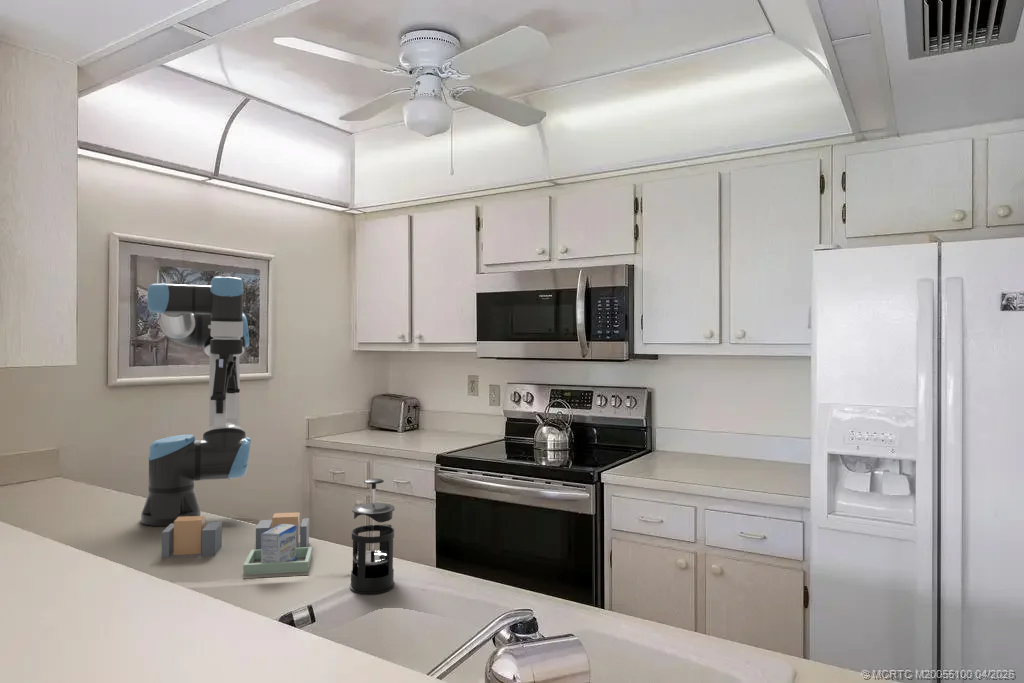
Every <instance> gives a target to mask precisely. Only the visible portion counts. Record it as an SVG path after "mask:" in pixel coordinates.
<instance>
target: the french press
mask: <svg viewBox="0 0 1024 683" xmlns="http://www.w3.org/2000/svg"><path fill="white" fill-rule="evenodd" d="M363 482H364V484H369V485H370V484H371V490H372V502H368V503H361V504H357V505H355V506H353V507H352V508H351V512H352V513H353V520H356V518H358V517H359V516H362V515H363V516H367V517H369V518H371V519H372V524H368V525H367V524H366V525H361V526H358V527H355V528H353V529H352V530H351V540H352V570H351V571H350V583H349V589H350V592H351V591H352V592H353V593H354V594H359V595H365V596H370V595H380V594H383V593H387V592H389V591H391V590H393V589H394V587H395V581H394V576H395V575H394V572H395V570H394V564H393V563H394V538H395V529H394V528H393V527H392V525H391V524H387V523H385V522H388V521H391V520H392V519H393V512H394V511H395V509H396V508H395V506H394V505H392V504H389V503H383V502H375V490H376V489H377V484H382V483H384V482H385V480H383V479H382V478H375V477H374V478H368V479H367V478H366V479H364V481H363ZM375 522H377V523H383V524H375ZM365 532H372V534H371V536H364V535H359V534H361V533H365ZM375 532H379V535H378V536H375ZM367 544H371V550H366V547H367ZM375 544H379V550H378V549H376V550H375V549H374V547H375Z"/></svg>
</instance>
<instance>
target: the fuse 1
mask: <svg viewBox="0 0 1024 683" xmlns="http://www.w3.org/2000/svg"><path fill="white" fill-rule="evenodd" d="M205 526H206V515H200V516H185V517H178V518H177V519H176V520H175V521H174V555H188V554H201V553H202V530H203V529H204V527H205Z"/></svg>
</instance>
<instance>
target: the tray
mask: <svg viewBox="0 0 1024 683" xmlns="http://www.w3.org/2000/svg"><path fill="white" fill-rule="evenodd" d="M298 558H305V559H304V560H296V561H290V562H270V563H261V562H255V560H256V561H257V560H261V549H256V548H255V549H254V548H253V549H251V550H250V553H249V554H248V556H247V557H246V560H245V561H244V563H243V568H242V569H243V573H242V574H243V575H244V576H248V575H264V574H268V575H269V574H282V573H283V574H284V573H303V572H309V570H310V566H311V562H312V558H313V546H308V547H296V559H298ZM306 576H307V577H308V576H309V574H306V575H305V574H303V575H302V574H301V575H296V577H306ZM289 577H290V578H291V577H293V575H283V576H277V578H289ZM270 578H272V579H273V578H275V576H264V577H263V576H262V577H259V579H270ZM251 579H257V577H245V578H243V579H242V580H251Z"/></svg>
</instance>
